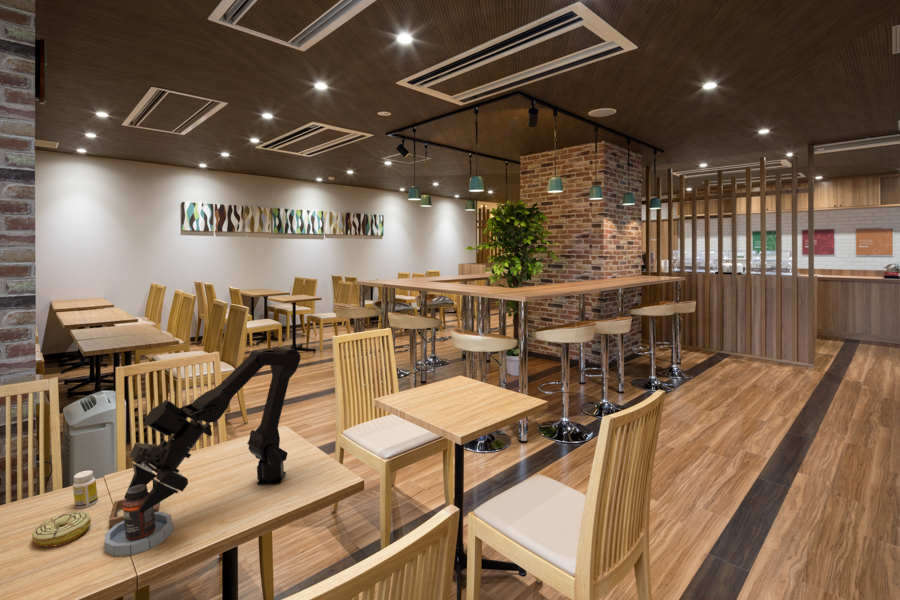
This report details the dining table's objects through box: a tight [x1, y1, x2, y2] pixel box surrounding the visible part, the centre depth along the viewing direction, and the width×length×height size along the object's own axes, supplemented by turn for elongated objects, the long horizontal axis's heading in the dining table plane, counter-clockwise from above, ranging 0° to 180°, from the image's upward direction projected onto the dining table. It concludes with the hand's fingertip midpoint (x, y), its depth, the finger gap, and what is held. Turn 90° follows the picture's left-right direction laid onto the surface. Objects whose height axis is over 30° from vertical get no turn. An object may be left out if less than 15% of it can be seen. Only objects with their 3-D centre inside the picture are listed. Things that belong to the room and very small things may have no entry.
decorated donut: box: [31, 511, 92, 547], centre depth 107 cm, size 10×11×4 cm
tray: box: [108, 498, 161, 530], centre depth 116 cm, size 10×10×2 cm
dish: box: [103, 511, 174, 557], centre depth 106 cm, size 13×13×2 cm
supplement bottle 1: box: [72, 470, 99, 509], centre depth 120 cm, size 5×5×8 cm
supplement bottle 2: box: [122, 484, 156, 540], centre depth 106 cm, size 6×6×11 cm
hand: (133, 505), depth 105 cm, fingers open, 9 cm apart
